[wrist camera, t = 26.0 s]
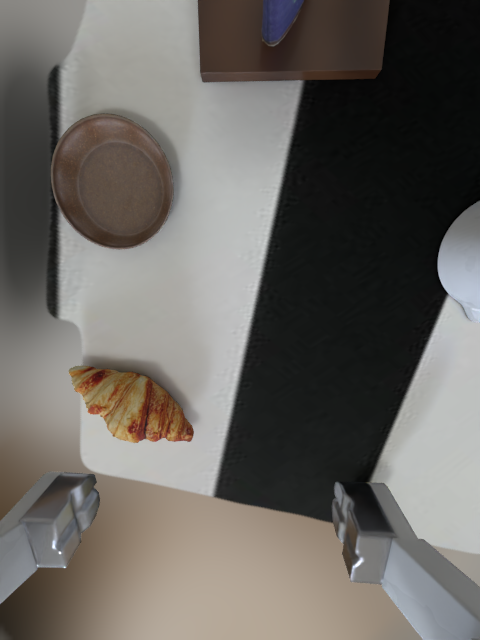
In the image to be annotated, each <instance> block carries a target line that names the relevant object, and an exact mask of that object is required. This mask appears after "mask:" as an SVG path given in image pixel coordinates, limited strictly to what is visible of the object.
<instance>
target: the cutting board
mask: <svg viewBox="0 0 480 640" xmlns="http://www.w3.org/2000/svg"><path fill="white" fill-rule="evenodd" d="M389 1H390V0H305V1H304V3H303V6H302V8H301V11H300V12H299V14H298V17H297V18H296V20H295V22H294V23H293V25H292V27H291V28H290V29H289V31H288V32H287V34H286V35H285V37H284V38H283V39H282V40H281V41H280V42H279V43H278V44H277V45H275V46H268V45H267V44H266V43H265V42H264V41H262V33H261V30H262V20H263V19H262V18H263V0H198V17H199V45H200V73H201V77H202V81H203V82H235V81H283V80H331V79H375V78H376V76H377V75H378V74H379V72H380V71H381V69H382V61H383V53H384V44H385V36H386V27H387V19H388V10H389Z"/></svg>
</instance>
